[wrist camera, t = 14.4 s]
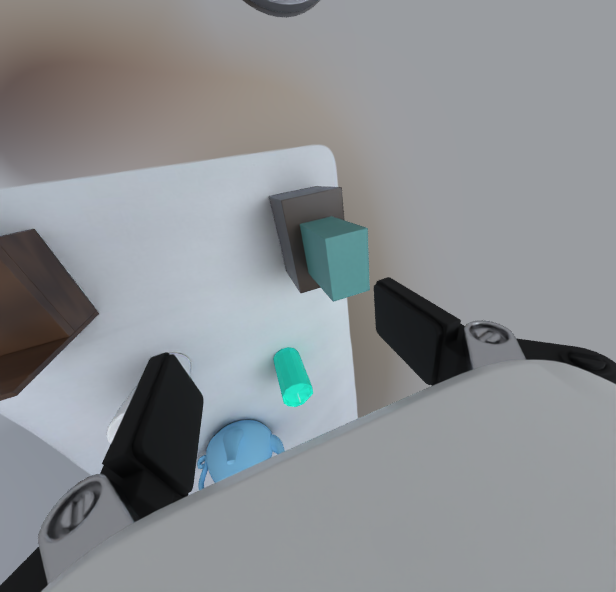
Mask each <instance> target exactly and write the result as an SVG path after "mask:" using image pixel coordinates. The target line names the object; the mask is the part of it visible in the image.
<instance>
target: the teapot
mask: <svg viewBox="0 0 616 592" xmlns="http://www.w3.org/2000/svg"><path fill="white" fill-rule="evenodd" d="M272 452H275V453H277V455H278V454H280V453H282V452H285V451H284V447H283V444H282V442H281V440H280V439H279V438H278V437H277V436H275V435H272V433H271V431H270V429H269V428H268V427H267V426H265V425H264V424H262V423H260V422H258V421H255V420H241V421H237V422H234V423H231V424H229V425H227V426H225V427H224V428H222V429H221V430H220V431H219V432H218V433H217V434H216V435H215V436H214V437H213V438H212V439H211V441H210V442H209V445H208V447H207V451H206V455H204V456H202V457H200V458H199V460H198V462H197V466H198V468H199V469H203V470H202V473H201V475H200V479H199V485H198V487H199V490H201V489H203V488H204V481H205V477H206V474H207V471H208V470H209V473H210V475H211V477H212V479H213V481H214V482H215V483H216V482H218V481H221V480H223V479H225V478H227V477H229V476H232V475H234V474H236V473H238V472H241V471H243V470H245V469H247V468H249V467H252V466H254V465H256V464H258V463H260V462H263V461H265V460H267V459H269V458H271V457H272ZM204 461H205V464H202V463H203V462H204ZM201 464H202V465H201Z"/></svg>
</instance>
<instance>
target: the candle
mask: <svg viewBox="0 0 616 592" xmlns="http://www.w3.org/2000/svg"><path fill="white" fill-rule="evenodd" d="M274 365H275V369H276V373H277V377H278V381H279V385H280V389H281V394H282V398H283V402H284V404H286V405H287V406H292V407H297V406H299V405H302V404H304V403H305V402H306V401H307V400H308V399H309V397H310V396H311V395H312V394H313V389H312V385H311V383H310V380H309V378H308V375H307V373H306V370H305V368H304V365H303V363H302V360H301V358H300V355H299V353H298V351H297V350H295V349H294V348H289V347H288V348H284V349H281V350H280V351H279V352H277V353H276V354H275V357H274Z"/></svg>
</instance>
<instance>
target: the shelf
mask: <svg viewBox="0 0 616 592" xmlns="http://www.w3.org/2000/svg"><path fill="white" fill-rule="evenodd" d="M98 314H99V313H98V311H97V310H96V309H95V307H94V306H93V305H92V304H91V302H90V301H89V300H88V298H87V297H86V296H85V294H84V293H83V292H82V291H81V289H80V288H79V287H78V285H77V284H76V283H75V281H74V280H73V279H72V277H71V276H70V275H69V274H68V272H67V271H66V270H65V268H64V267H63V266H62V264H61V263H60V262H59V261H58V259H57V258H56V257H55V255H54V254H53V253H52V251H51V250H50V249H49V247H48V246H47V245H46V244H45V242H44V241H43V240H42V238H41V237H40V236H39V234H38V233H37V232H36V230H35V229H30V230H25V231H21V232H16V233H12V234H8V235H4V236H0V401H1V400H4V399H8V398H11V397H14V396H17V395H18V394H19V393H20V392H21V391H22V390H23V389H24V388H25V387H26V386H27V385H28V384H29V383H30V382H31V381H32V380H33V379H34V378H35V377H36V376H37V375H38V374H39V373H40V372H41V371H42V370H43V369H44V368H45V367H46V366H47V365H48V364H49V363H50V362H51V361H52V360H53V359H54V358H55V357H56V356H57V355H58V354H59V353H60V352H61V351H62V350H63V349H64V348H65V347H66V346H67V345H68V344H69V343H70V342H71V341H72V340H73V339H74V338H75V337H76V336H77V335H78V334H79V333H80V332H81V331H82V330H83V329H84V328H85V327H86V326H87V325H88V324H89V323H90V322H91V321H92V320H93V319H94V318H95V317H96V316H97V315H98Z"/></svg>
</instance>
